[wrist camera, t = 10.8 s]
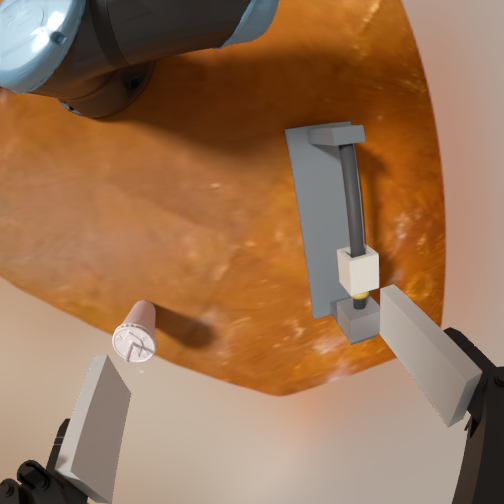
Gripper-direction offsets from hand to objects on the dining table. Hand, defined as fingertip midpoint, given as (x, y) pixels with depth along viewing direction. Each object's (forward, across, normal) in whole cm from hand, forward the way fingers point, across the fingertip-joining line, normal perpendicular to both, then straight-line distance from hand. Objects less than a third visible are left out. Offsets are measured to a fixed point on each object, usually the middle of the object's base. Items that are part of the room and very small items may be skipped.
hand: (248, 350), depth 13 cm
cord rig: (+32, +16, -8) cm, 37 cm away
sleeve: (+26, +15, -11) cm, 32 cm away
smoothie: (+33, -17, -14) cm, 39 cm away
